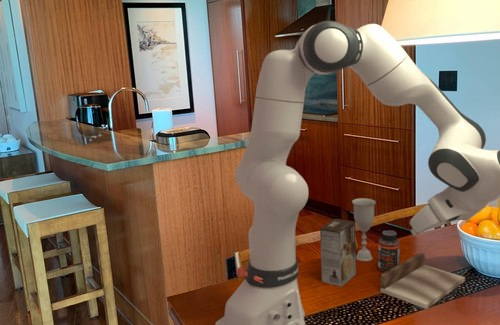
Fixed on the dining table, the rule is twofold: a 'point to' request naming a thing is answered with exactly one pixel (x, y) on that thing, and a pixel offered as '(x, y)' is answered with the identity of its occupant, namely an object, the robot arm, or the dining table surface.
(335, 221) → the coffee box
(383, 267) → the supplement bottle
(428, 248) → the dining table surface
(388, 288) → the edge board
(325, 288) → the dining table surface
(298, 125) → the robot arm
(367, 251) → the chalice
